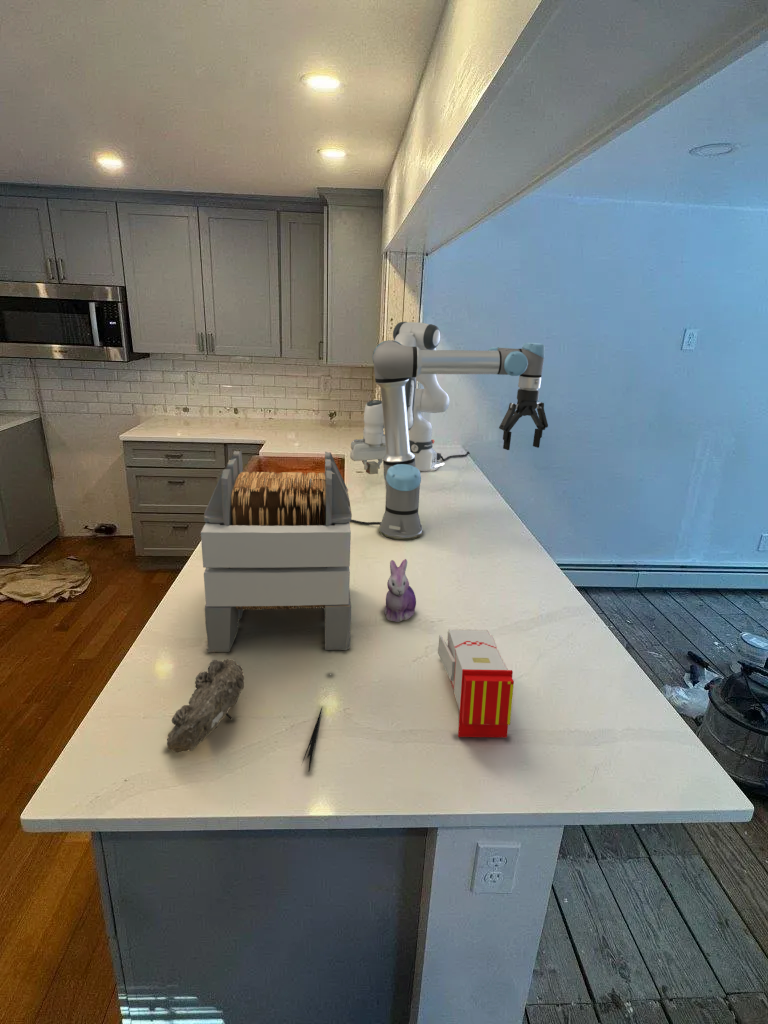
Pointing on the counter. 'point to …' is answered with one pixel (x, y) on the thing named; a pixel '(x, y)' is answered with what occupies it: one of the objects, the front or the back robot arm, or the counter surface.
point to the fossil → (206, 705)
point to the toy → (478, 682)
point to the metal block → (372, 467)
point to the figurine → (399, 594)
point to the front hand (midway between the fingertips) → (521, 448)
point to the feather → (313, 740)
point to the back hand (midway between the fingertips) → (372, 469)
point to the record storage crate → (277, 549)
